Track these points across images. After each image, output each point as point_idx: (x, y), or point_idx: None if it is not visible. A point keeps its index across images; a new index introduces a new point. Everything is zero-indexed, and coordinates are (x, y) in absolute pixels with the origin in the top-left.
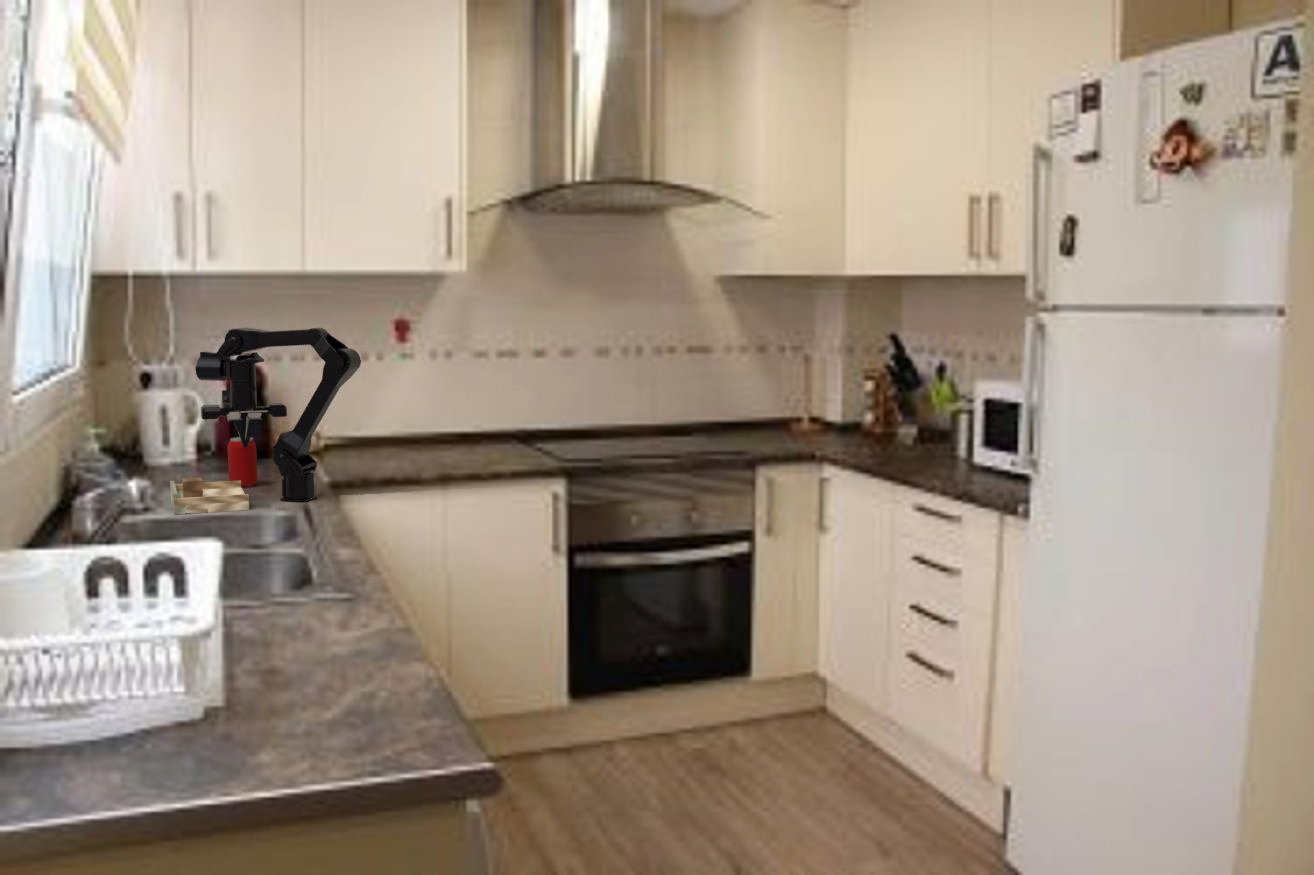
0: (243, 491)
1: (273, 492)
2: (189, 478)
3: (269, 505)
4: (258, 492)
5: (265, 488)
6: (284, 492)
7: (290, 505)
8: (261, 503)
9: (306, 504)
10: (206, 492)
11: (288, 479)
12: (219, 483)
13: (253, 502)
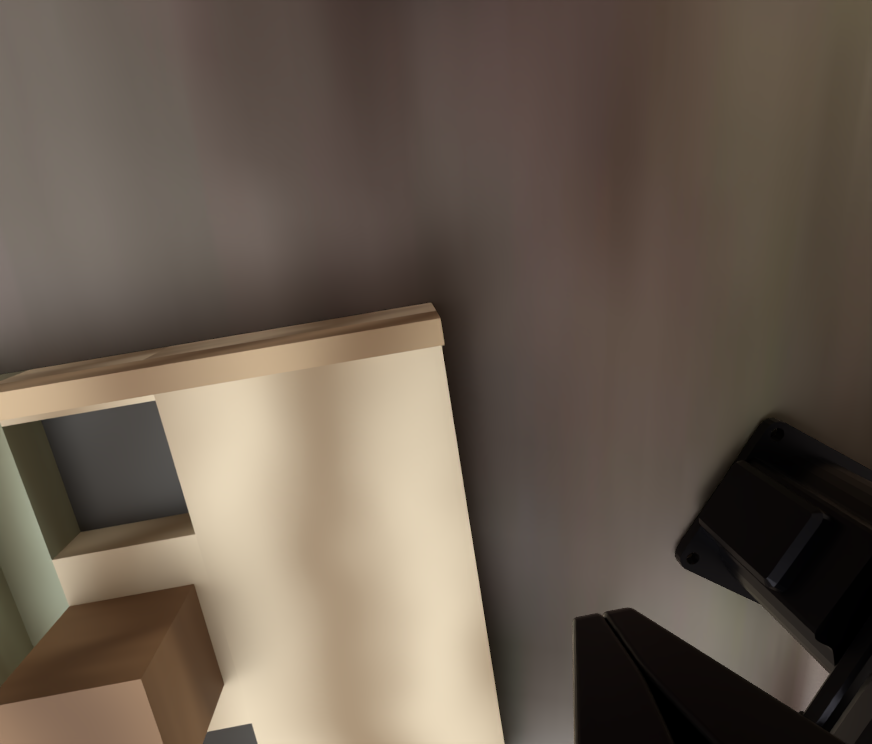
0: (467, 511)
1: (650, 247)
2: (45, 707)
3: None
4: (548, 225)
5: (600, 52)
6: (726, 551)
7: None
8: (565, 601)
9: (796, 657)
10: (210, 512)
11: (816, 659)
12: (272, 371)
13: (520, 567)
